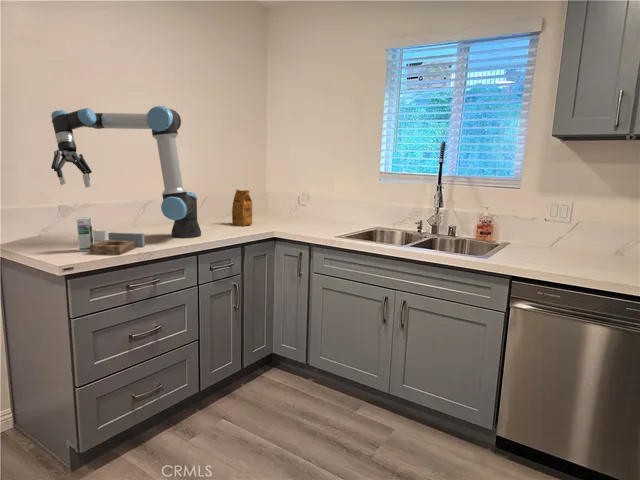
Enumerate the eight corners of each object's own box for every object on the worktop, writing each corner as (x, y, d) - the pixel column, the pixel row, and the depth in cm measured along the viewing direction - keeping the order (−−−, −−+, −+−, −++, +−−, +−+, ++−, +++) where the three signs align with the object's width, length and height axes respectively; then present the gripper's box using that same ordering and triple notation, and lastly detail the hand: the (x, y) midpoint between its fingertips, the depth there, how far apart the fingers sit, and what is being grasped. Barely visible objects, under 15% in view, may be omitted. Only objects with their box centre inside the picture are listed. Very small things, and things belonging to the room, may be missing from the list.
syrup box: (78, 252, 190) (76, 218, 187) (80, 249, 195) (77, 216, 192) (93, 251, 192) (91, 218, 189) (94, 248, 197) (92, 216, 195)
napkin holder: (113, 241, 217) (113, 230, 216) (88, 243, 210) (87, 232, 209) (107, 237, 229) (106, 226, 228) (82, 239, 222) (81, 227, 221)
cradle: (134, 248, 199) (134, 241, 198) (119, 254, 186) (119, 246, 185) (107, 247, 199) (106, 240, 199) (90, 253, 187) (89, 245, 186)
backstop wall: (144, 246, 205) (144, 233, 204) (142, 247, 203) (141, 234, 202) (111, 245, 206) (110, 232, 205) (109, 245, 204) (108, 233, 203)
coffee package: (242, 223, 284) (241, 188, 280) (254, 225, 276) (254, 190, 272) (229, 224, 277) (228, 189, 273) (242, 226, 269) (241, 190, 265)
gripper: (82, 150, 224) (91, 190, 222) (36, 140, 201) (46, 185, 199) (93, 145, 222) (102, 185, 220) (47, 135, 198) (58, 180, 196)
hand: (76, 185), depth 209 cm, fingers open, 13 cm apart
